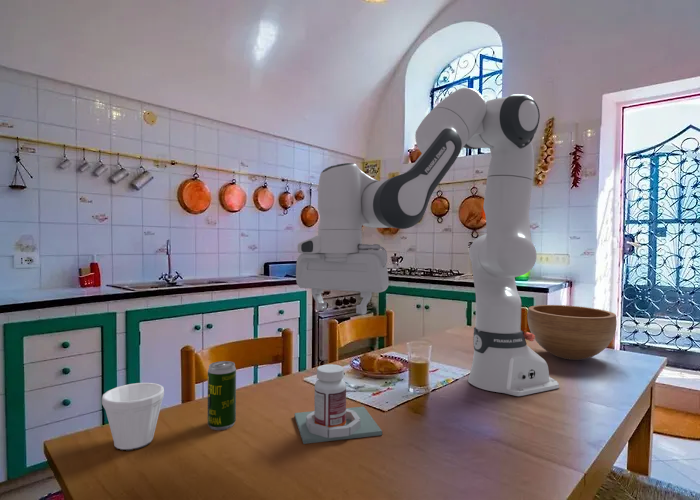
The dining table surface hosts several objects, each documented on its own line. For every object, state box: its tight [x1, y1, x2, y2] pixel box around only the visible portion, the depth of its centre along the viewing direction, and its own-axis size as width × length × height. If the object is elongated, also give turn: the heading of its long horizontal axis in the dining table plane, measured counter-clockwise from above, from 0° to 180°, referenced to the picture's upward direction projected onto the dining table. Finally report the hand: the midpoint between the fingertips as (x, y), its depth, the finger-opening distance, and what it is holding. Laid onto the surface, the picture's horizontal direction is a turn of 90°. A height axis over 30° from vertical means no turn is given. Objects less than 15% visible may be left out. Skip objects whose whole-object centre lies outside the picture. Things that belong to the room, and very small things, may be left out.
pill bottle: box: [313, 363, 347, 427], centre depth 83 cm, size 6×6×11 cm
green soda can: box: [207, 360, 237, 431], centre depth 84 cm, size 5×5×12 cm
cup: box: [101, 382, 165, 451], centre depth 77 cm, size 10×10×9 cm
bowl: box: [527, 304, 617, 361], centre depth 136 cm, size 25×25×15 cm
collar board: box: [294, 406, 383, 445], centre depth 85 cm, size 15×12×2 cm
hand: (341, 312), depth 87 cm, fingers open, 8 cm apart
